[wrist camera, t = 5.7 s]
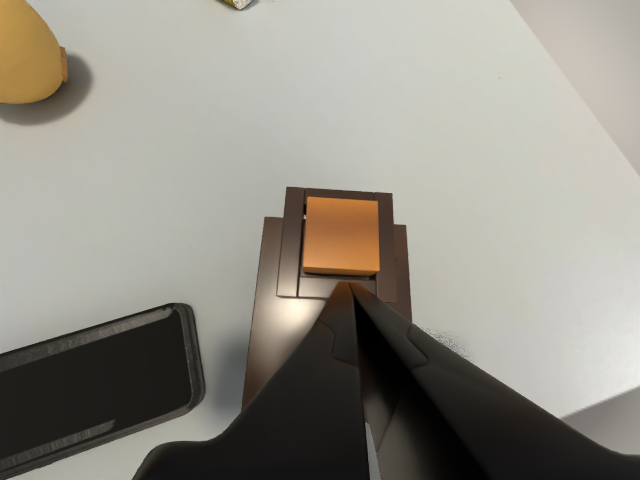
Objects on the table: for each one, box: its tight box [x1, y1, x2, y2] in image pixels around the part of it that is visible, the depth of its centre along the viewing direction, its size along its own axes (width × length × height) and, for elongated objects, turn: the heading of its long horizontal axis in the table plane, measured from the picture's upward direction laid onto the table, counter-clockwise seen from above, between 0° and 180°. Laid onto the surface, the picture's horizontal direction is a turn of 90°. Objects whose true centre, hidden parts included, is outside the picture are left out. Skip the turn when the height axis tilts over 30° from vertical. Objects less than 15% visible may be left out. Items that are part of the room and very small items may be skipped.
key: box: [303, 197, 380, 276], centre depth 14 cm, size 4×4×2 cm
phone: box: [0, 303, 205, 480], centre depth 17 cm, size 8×1×15 cm
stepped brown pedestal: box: [241, 187, 412, 423], centre depth 17 cm, size 14×10×7 cm
